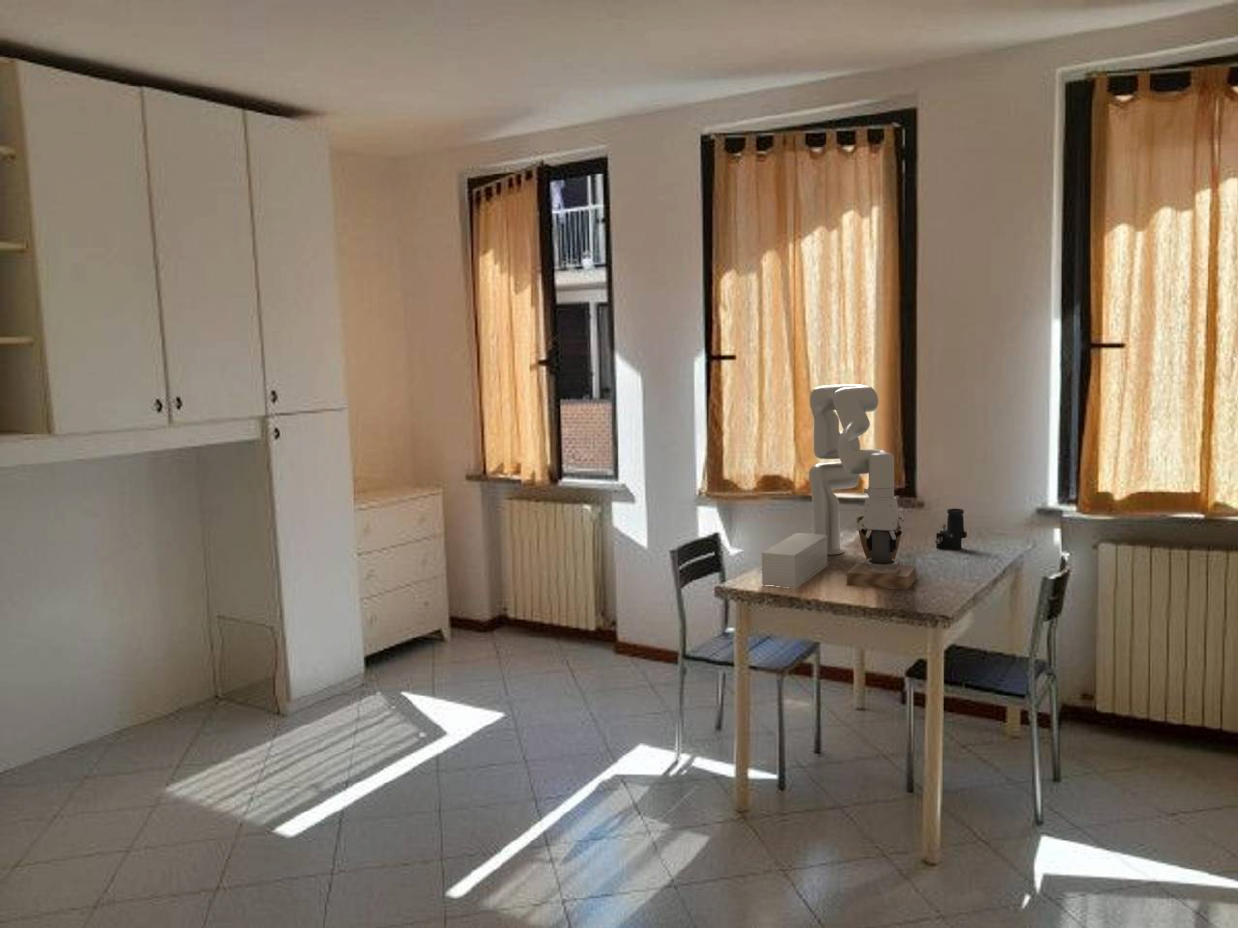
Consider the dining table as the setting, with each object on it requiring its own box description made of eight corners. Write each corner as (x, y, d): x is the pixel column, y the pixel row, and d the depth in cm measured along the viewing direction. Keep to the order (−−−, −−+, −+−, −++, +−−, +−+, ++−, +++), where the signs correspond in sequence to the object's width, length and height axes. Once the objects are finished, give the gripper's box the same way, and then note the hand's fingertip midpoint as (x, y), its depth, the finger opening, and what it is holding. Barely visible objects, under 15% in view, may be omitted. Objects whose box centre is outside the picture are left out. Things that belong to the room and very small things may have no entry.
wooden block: (846, 585, 297) (846, 564, 296) (857, 574, 309) (857, 554, 308) (907, 590, 289) (907, 568, 288) (915, 578, 301) (915, 558, 300)
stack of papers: (796, 563, 327) (796, 532, 326) (827, 566, 322) (827, 534, 321) (762, 586, 300) (761, 552, 298) (795, 589, 295) (794, 555, 293)
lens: (869, 564, 297) (869, 532, 295) (874, 560, 302) (873, 528, 301) (889, 566, 294) (889, 533, 293) (893, 561, 299) (893, 529, 298)
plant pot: (904, 561, 324) (904, 514, 322) (901, 572, 310) (901, 523, 308) (859, 559, 329) (859, 513, 327) (854, 569, 315) (854, 521, 313)
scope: (942, 506, 345) (970, 508, 339) (942, 544, 347) (970, 547, 341) (934, 510, 338) (963, 512, 332) (934, 549, 340) (962, 552, 334)
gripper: (850, 493, 296) (850, 551, 298) (907, 495, 288) (908, 555, 290) (855, 490, 302) (856, 546, 305) (912, 491, 295) (912, 550, 297)
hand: (881, 550), depth 297 cm, fingers closed on lens, 6 cm apart
